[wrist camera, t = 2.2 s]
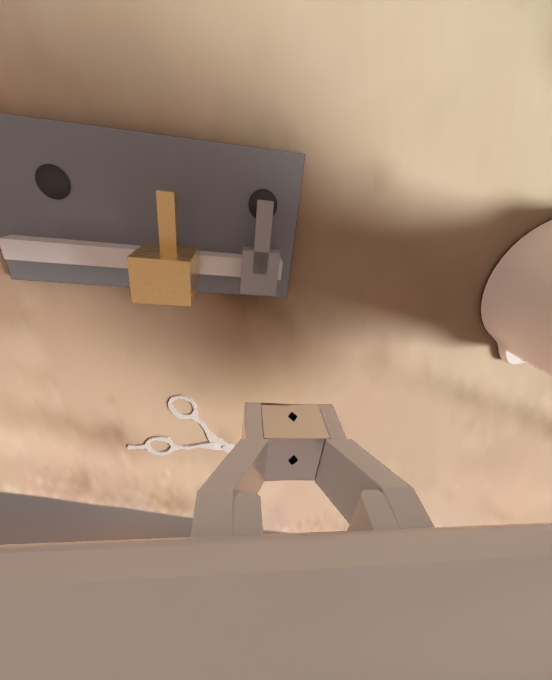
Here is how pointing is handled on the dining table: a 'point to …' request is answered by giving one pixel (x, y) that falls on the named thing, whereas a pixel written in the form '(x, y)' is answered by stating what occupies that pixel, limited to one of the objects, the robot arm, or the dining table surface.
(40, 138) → the plate
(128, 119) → the dining table surface
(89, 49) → the dining table surface
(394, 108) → the dining table surface
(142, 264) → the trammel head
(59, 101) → the dining table surface
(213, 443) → the scissors
